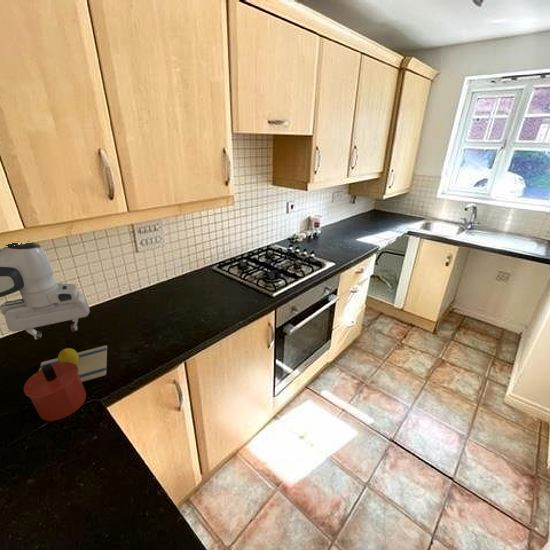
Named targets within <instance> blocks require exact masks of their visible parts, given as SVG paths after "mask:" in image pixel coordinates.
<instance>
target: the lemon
mask: <svg viewBox="0 0 550 550" xmlns="http://www.w3.org/2000/svg"><path fill="white" fill-rule="evenodd" d="M78 353H79V352H78V351H76V350H75V349H74V348H70V347H66V348H63V349H61V350H60V352H59V353H58V355H57V358H58V362H59V363H63V362H69V363H73V364H75V365H77V364H78V362H79V356H78Z"/></svg>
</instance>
